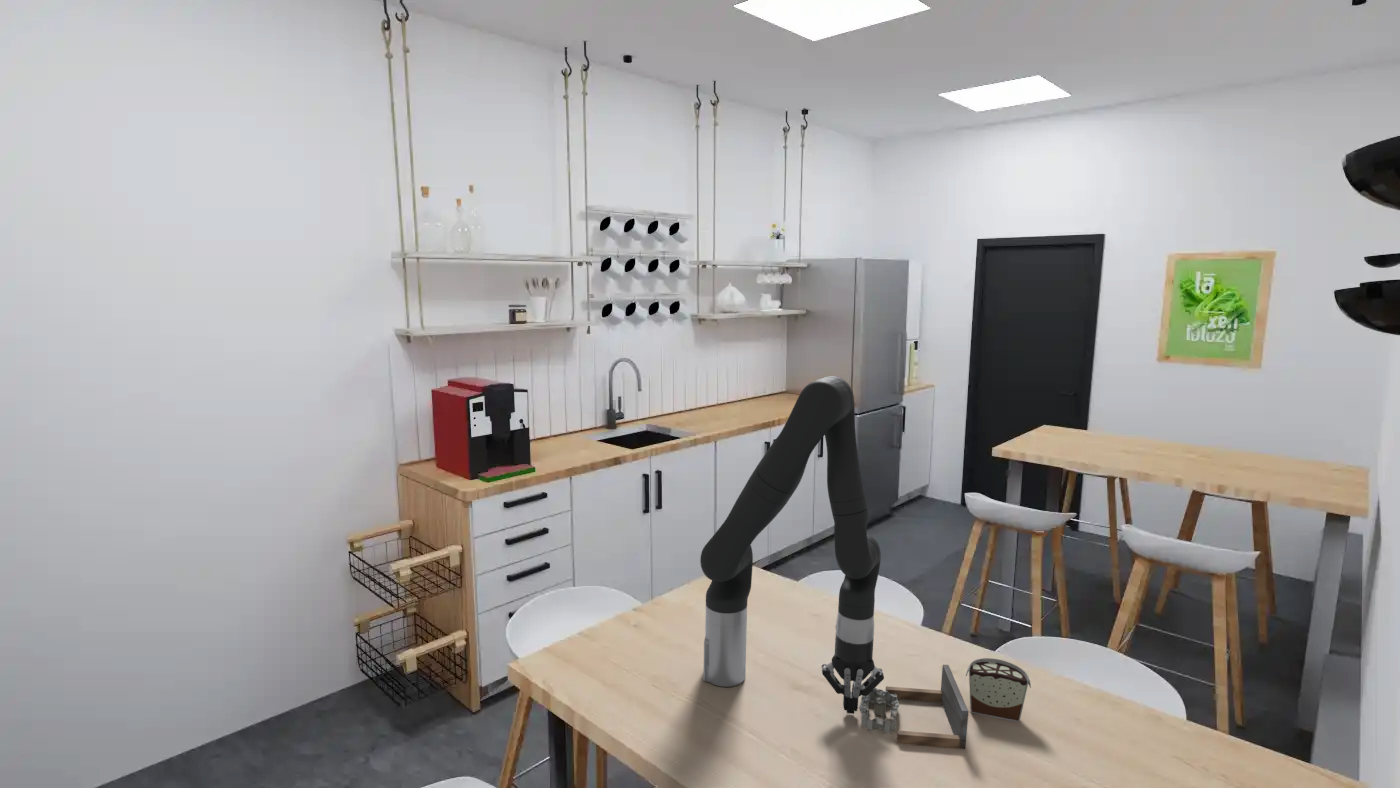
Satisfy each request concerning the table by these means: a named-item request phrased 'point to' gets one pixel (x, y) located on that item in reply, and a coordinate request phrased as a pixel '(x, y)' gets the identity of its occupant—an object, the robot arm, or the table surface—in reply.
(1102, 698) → the table surface
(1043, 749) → the table surface
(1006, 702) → the food container
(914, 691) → the display stand
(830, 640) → the table surface
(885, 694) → the egg carton
